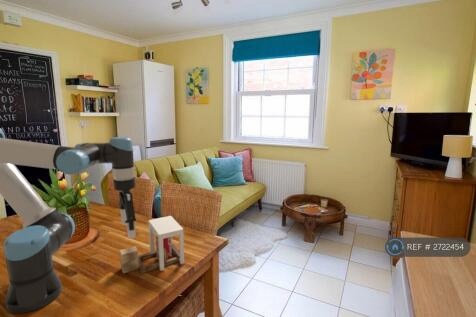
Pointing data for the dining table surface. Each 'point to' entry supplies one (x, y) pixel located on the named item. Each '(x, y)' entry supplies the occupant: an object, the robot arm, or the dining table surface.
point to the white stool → (166, 236)
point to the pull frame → (133, 261)
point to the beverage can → (165, 248)
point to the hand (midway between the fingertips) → (128, 230)
